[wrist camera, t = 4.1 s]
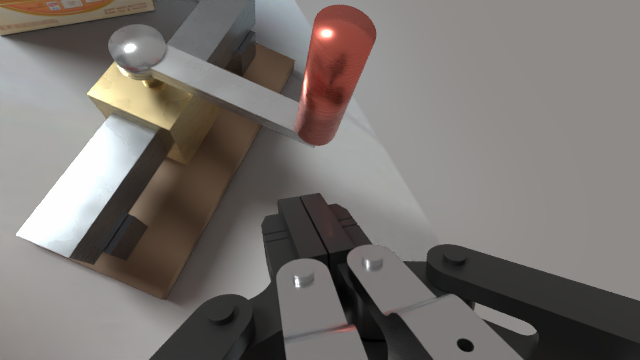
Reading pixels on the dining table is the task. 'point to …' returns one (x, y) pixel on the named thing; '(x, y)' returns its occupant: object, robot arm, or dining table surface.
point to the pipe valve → (139, 140)
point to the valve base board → (190, 191)
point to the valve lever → (252, 99)
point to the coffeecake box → (62, 12)
